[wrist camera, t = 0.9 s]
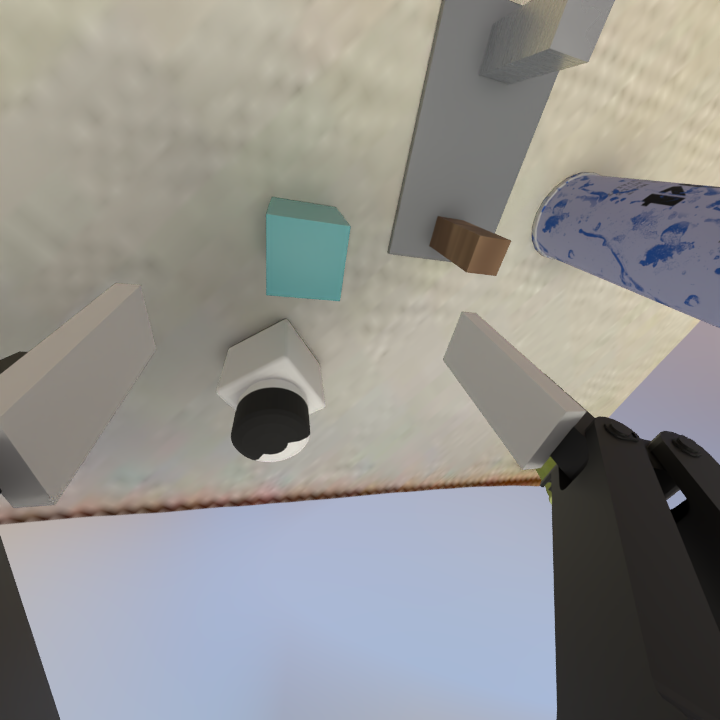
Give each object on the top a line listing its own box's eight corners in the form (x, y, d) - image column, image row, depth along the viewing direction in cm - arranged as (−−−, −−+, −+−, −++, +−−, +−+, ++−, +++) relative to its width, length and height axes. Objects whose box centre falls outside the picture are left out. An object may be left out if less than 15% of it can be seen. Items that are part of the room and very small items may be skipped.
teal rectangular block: (271, 261, 27) (266, 295, 21) (271, 196, 24) (266, 214, 18) (328, 267, 28) (339, 301, 22) (335, 207, 25) (350, 226, 19)
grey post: (474, 76, 22) (549, 48, 16) (488, 26, 21) (578, -28, 14) (503, 85, 23) (588, 62, 16) (519, 37, 21) (618, -9, 15)
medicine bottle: (227, 347, 31) (199, 438, 21) (286, 316, 30) (285, 396, 21) (267, 391, 35) (259, 482, 26) (321, 364, 34) (333, 449, 25)
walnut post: (426, 244, 29) (466, 272, 22) (435, 214, 27) (480, 235, 21) (450, 247, 29) (496, 275, 23) (460, 219, 28) (511, 240, 21)
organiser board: (387, 252, 28) (389, 254, 28) (446, -19, 19) (450, -24, 19) (478, 264, 31) (481, 265, 30) (569, 29, 22) (576, 27, 21)
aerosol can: (618, 163, 28) (1066, 187, 12) (593, 248, 32) (888, 347, 16) (539, 182, 27) (892, 232, 11) (525, 265, 32) (760, 383, 16)
